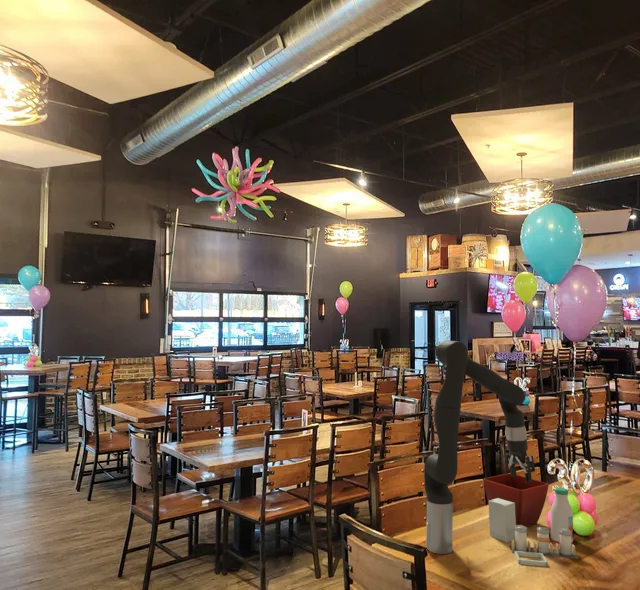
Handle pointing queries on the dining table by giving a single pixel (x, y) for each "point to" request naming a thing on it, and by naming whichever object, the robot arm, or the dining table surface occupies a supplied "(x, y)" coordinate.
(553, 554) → the fuse block
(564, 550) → the cylinder
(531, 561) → the grey square frame
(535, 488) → the plant pot
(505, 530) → the skincare box
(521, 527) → the cylinder
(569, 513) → the milk bottle
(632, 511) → the dining table surface
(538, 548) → the fuse marked
